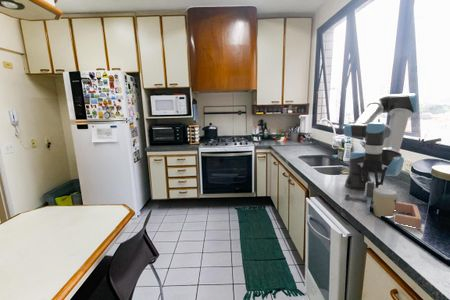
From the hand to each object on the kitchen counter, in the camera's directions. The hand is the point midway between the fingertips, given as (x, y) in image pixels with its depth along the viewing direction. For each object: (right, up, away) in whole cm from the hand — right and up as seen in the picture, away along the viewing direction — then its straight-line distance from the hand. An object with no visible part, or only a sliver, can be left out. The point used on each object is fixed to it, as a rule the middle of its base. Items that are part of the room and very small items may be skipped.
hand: (369, 195), depth 120 cm
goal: (+5, -7, -17) cm, 19 cm away
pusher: (-4, -5, -5) cm, 8 cm away
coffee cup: (-2, -7, -12) cm, 14 cm away
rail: (+2, -4, 0) cm, 4 cm away
